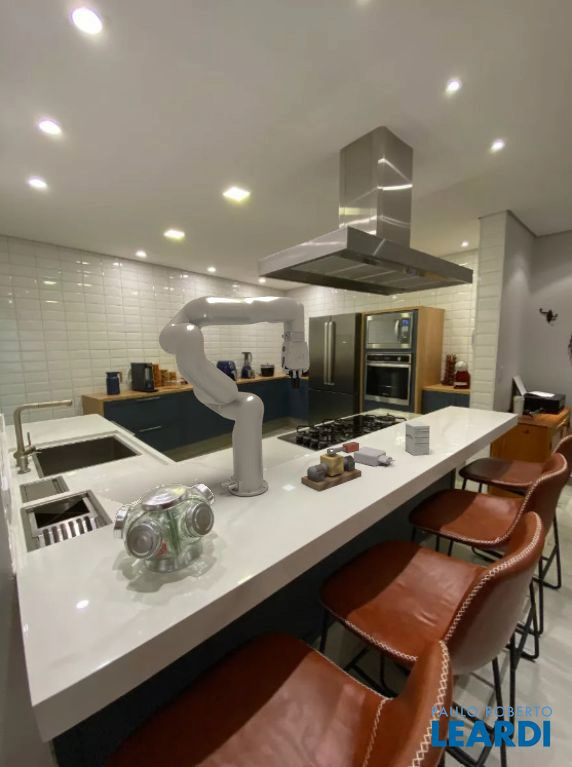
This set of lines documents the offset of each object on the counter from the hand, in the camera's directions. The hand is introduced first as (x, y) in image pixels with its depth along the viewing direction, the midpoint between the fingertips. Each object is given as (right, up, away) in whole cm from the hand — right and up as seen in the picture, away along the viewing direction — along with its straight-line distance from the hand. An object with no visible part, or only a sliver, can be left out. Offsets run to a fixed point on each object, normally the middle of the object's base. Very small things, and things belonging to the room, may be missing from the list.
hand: (295, 388), depth 119 cm
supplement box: (+53, -28, +21) cm, 64 cm away
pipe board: (+12, -31, -6) cm, 34 cm away
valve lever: (+16, -23, -4) cm, 28 cm away
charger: (+32, -30, +10) cm, 45 cm away
